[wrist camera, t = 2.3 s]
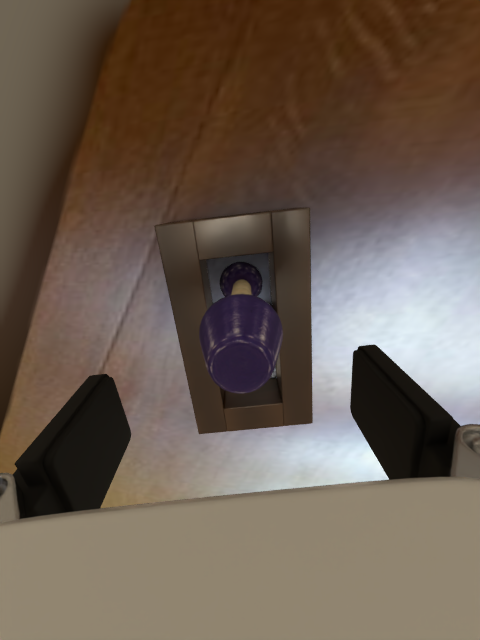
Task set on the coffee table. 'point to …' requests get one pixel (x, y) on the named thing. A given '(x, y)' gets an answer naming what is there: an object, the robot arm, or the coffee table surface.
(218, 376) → the toy lamp
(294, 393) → the frame
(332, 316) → the coffee table surface
